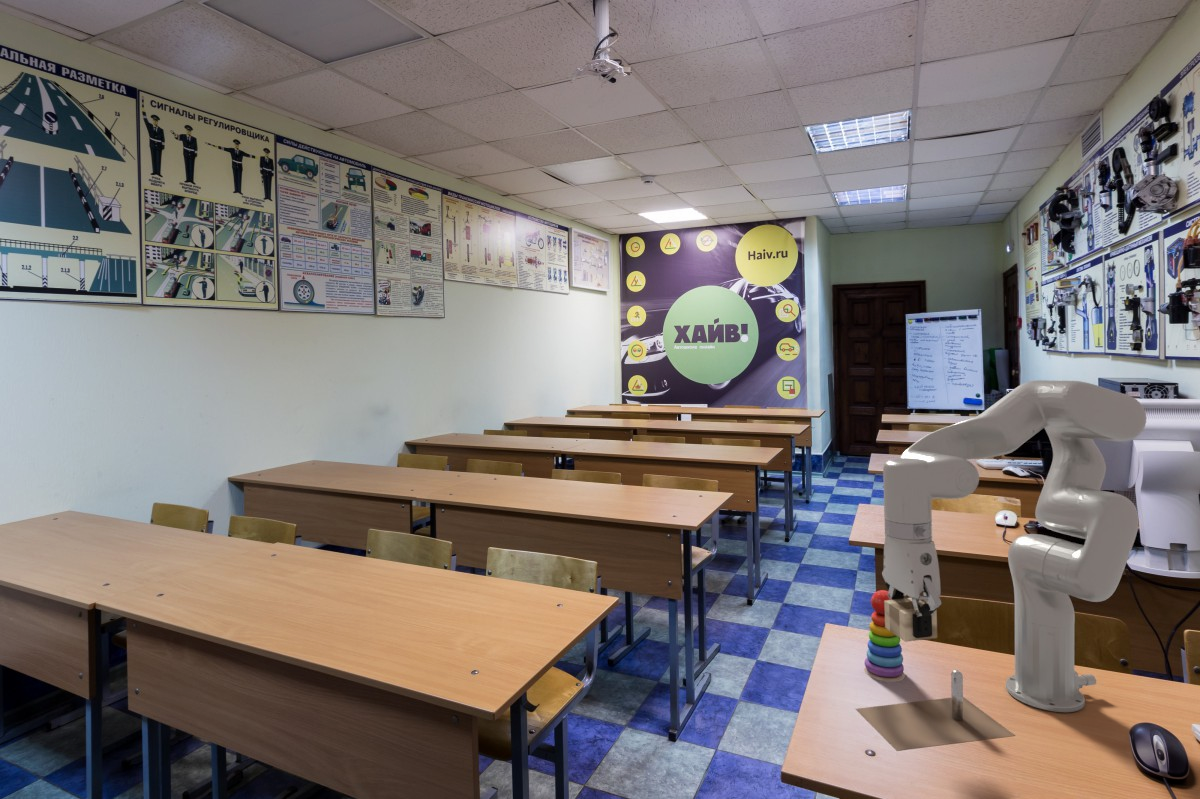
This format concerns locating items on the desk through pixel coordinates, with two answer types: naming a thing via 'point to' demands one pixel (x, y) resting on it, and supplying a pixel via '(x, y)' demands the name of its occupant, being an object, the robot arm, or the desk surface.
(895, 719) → the brown rectangular board
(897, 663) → the stacking toy
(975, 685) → the desk surface
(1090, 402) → the robot arm
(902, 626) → the wooden square holder
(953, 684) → the grey glassy cylinder
